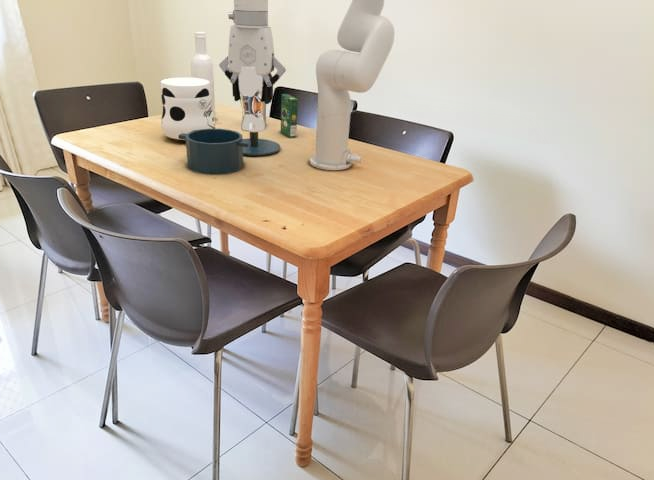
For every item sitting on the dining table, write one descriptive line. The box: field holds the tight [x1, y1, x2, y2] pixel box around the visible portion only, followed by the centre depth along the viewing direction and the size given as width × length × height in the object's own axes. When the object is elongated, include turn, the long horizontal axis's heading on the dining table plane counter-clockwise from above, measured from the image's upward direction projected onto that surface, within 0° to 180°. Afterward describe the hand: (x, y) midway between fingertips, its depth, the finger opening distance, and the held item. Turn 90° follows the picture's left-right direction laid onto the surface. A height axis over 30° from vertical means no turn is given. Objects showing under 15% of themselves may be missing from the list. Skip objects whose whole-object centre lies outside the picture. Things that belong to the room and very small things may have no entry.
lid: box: [242, 132, 281, 156], centre depth 160 cm, size 17×17×6 cm
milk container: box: [160, 76, 216, 143], centre depth 165 cm, size 17×17×18 cm
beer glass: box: [238, 66, 267, 133], centre depth 122 cm, size 7×7×15 cm
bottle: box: [190, 31, 216, 120], centre depth 184 cm, size 8×8×30 cm
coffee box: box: [280, 93, 299, 138], centre depth 175 cm, size 8×3×13 cm, turn 27°
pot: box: [178, 128, 251, 175], centre depth 145 cm, size 16×21×8 cm
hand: (252, 100), depth 122 cm, fingers closed on beer glass, 7 cm apart
